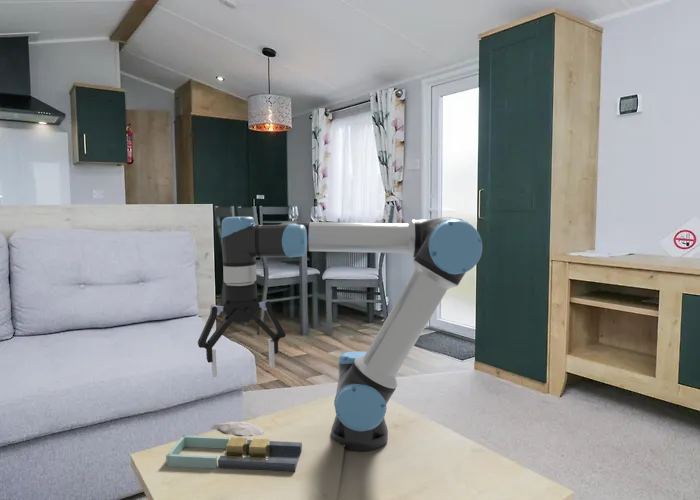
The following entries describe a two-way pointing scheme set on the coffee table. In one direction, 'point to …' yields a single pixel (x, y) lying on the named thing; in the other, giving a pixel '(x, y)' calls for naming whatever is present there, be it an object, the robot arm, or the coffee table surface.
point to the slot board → (279, 459)
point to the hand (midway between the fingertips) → (243, 371)
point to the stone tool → (239, 428)
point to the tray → (194, 460)
